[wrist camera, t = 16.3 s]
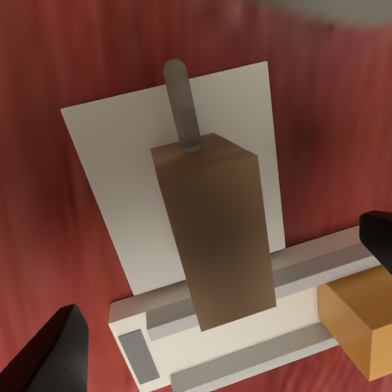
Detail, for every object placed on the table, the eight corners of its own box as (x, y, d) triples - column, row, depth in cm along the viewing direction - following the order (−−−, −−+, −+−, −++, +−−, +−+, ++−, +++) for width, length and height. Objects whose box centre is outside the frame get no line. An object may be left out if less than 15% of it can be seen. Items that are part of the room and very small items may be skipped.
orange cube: (378, 254, 16) (449, 302, 12) (375, 299, 17) (438, 354, 14) (317, 274, 16) (372, 330, 12) (319, 319, 17) (369, 381, 13)
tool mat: (261, 62, 12) (267, 60, 12) (280, 242, 16) (285, 248, 16) (63, 108, 11) (60, 109, 11) (134, 288, 15) (133, 295, 15)
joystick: (199, 57, 11) (242, 34, 7) (233, 240, 15) (276, 306, 10) (128, 73, 11) (123, 60, 6) (181, 256, 15) (201, 332, 10)
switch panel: (416, 206, 18) (462, 226, 15) (407, 279, 20) (446, 305, 17) (110, 303, 15) (105, 343, 13) (141, 371, 18) (141, 416, 15)
